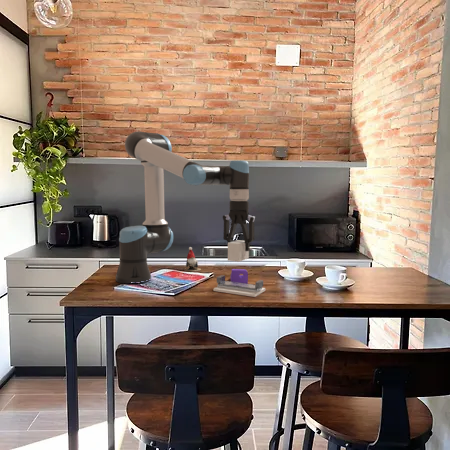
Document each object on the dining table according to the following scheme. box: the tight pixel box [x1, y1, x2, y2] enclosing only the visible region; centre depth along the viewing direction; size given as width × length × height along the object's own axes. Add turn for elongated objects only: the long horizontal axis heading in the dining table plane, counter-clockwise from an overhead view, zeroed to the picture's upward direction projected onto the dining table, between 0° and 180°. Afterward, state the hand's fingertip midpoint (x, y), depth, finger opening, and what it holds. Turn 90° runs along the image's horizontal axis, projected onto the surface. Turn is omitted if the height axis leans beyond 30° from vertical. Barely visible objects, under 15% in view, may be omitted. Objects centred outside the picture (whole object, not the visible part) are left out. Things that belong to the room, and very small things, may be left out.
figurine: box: [185, 246, 202, 272], centre depth 211 cm, size 8×10×12 cm
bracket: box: [229, 268, 249, 284], centre depth 187 cm, size 12×7×7 cm, turn 2°
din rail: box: [216, 274, 264, 293], centre depth 172 cm, size 19×6×4 cm, turn 63°
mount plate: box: [213, 286, 266, 298], centre depth 172 cm, size 18×11×1 cm, turn 63°
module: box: [227, 239, 250, 263], centre depth 170 cm, size 5×9×7 cm, turn 153°
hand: (238, 258), depth 171 cm, fingers closed on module, 5 cm apart
